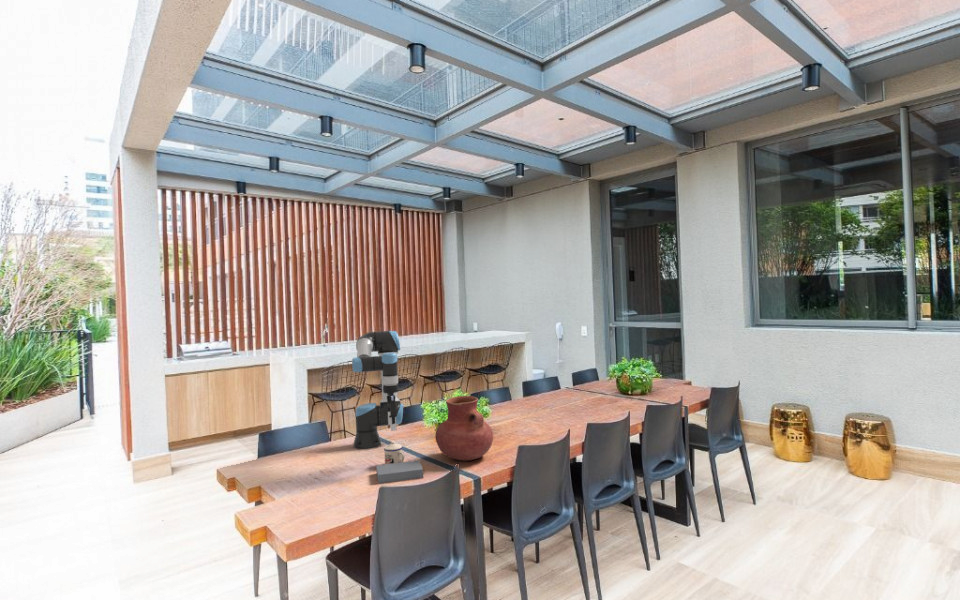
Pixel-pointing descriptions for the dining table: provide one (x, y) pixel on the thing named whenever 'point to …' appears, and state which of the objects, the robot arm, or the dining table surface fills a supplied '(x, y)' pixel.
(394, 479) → the serving riser
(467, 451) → the clay pot
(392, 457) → the teacup with lid
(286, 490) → the dining table surface
